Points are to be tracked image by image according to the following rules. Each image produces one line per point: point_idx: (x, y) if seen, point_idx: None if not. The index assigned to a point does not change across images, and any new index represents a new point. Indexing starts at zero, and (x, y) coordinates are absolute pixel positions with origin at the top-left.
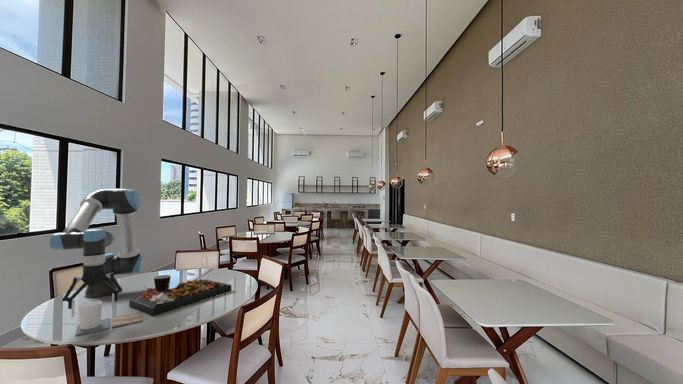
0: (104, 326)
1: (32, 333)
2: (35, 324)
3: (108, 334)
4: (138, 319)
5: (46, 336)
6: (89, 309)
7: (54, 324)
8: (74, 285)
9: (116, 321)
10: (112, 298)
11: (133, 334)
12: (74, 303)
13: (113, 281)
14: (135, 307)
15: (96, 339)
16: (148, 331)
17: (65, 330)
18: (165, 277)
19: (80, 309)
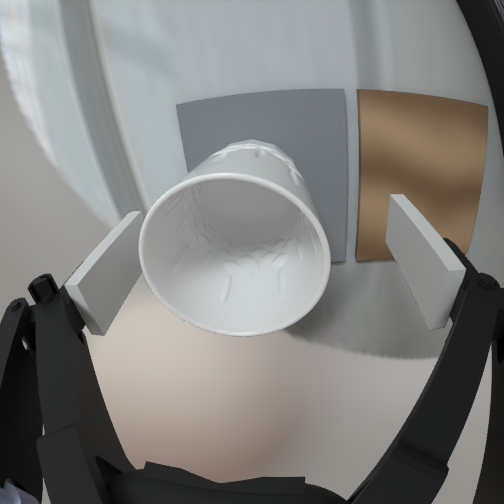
0: (324, 231)
1: (31, 126)
2: (15, 20)
3: (336, 314)
4: (462, 231)
5: (90, 193)
6: (243, 317)
7: (68, 35)
8: (39, 473)
9: (381, 188)
10: (419, 301)
11: (401, 350)
12: (101, 281)
13: (488, 472)
14: (468, 9)
15: (296, 334)
16: (438, 347)
17: (137, 151)
18: None
19: (178, 298)
